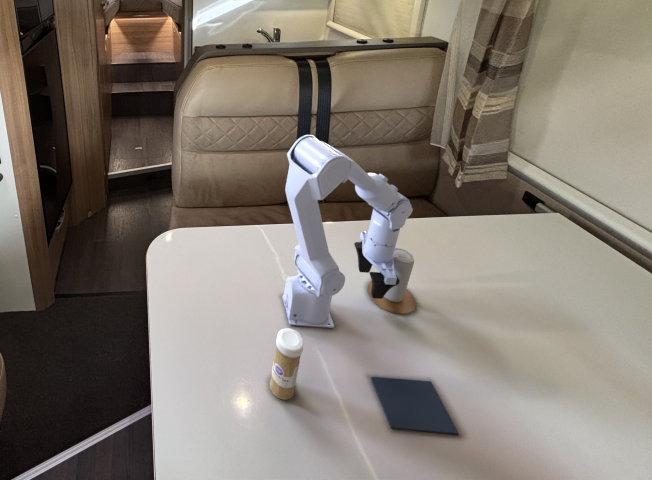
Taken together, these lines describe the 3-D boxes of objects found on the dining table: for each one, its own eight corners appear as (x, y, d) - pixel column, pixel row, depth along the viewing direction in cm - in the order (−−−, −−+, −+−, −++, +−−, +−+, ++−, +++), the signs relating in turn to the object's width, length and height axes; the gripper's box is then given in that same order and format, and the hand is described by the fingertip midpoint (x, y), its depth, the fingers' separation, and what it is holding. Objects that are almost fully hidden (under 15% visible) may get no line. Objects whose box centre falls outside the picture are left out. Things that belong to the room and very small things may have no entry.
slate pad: (391, 429, 74) (391, 427, 74) (370, 378, 82) (371, 376, 82) (458, 435, 73) (459, 433, 73) (430, 383, 81) (431, 381, 81)
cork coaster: (377, 313, 96) (377, 311, 96) (360, 278, 105) (361, 277, 105) (424, 316, 95) (424, 314, 95) (403, 281, 104) (403, 280, 104)
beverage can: (406, 305, 97) (418, 264, 93) (383, 301, 98) (394, 261, 93) (398, 288, 101) (410, 249, 97) (377, 285, 102) (387, 246, 98)
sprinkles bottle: (265, 390, 80) (272, 339, 75) (275, 371, 83) (283, 322, 78) (288, 406, 77) (298, 355, 72) (298, 387, 81) (308, 336, 76)
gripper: (417, 262, 87) (402, 311, 92) (386, 217, 100) (375, 261, 105) (381, 260, 88) (368, 309, 93) (355, 215, 101) (345, 260, 106)
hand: (370, 283), depth 99 cm, fingers open, 7 cm apart
